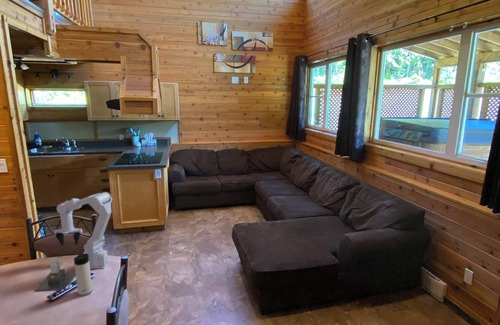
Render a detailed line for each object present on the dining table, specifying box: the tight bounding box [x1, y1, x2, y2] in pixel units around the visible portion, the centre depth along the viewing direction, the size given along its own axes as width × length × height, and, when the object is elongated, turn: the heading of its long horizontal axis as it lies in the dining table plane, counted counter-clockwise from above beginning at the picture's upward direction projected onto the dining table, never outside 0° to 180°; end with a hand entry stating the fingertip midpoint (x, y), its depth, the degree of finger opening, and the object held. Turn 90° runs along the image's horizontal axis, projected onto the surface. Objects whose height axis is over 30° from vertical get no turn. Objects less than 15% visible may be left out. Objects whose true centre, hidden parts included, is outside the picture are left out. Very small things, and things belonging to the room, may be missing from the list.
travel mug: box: [73, 253, 93, 297], centre depth 148 cm, size 6×7×20 cm
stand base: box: [34, 268, 76, 292], centre depth 157 cm, size 14×14×6 cm
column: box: [49, 256, 61, 275], centre depth 156 cm, size 3×3×10 cm
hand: (69, 244), depth 175 cm, fingers open, 7 cm apart
